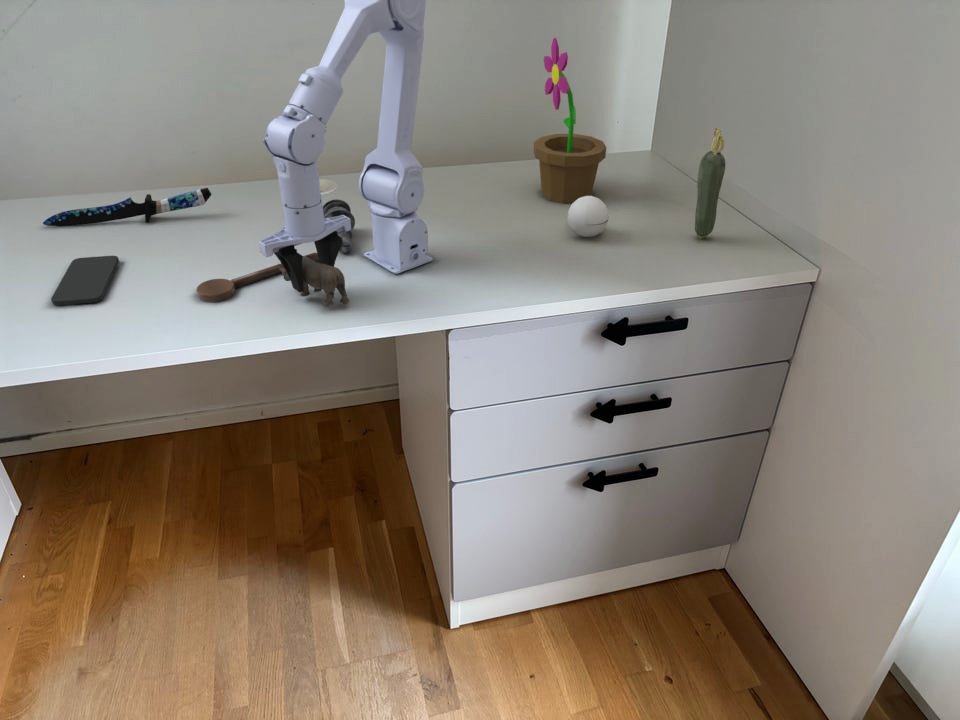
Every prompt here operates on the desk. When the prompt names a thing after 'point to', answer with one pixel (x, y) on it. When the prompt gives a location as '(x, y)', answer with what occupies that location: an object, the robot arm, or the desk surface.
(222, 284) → the brown long-handled part
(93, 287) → the phone
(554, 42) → the flowerpot
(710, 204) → the vegetable
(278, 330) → the desk surface
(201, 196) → the knife
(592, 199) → the white ball
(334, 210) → the grey weathered turned ornament
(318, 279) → the rhino figurine
